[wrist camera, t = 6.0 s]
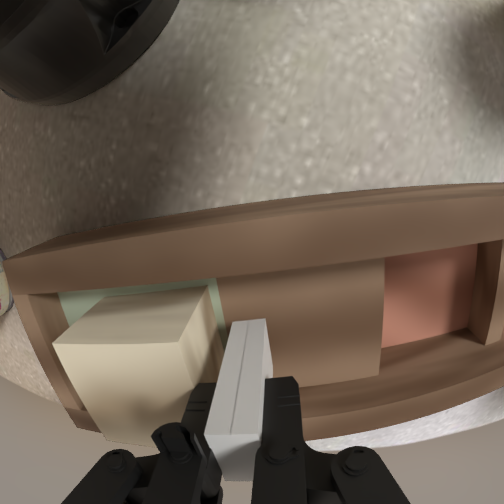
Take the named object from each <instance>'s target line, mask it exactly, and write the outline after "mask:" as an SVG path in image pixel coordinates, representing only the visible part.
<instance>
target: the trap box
mask: <svg viewBox="0 0 504 504" xmlns="http://www.w3.org/2000/svg"><path fill="white" fill-rule="evenodd" d="M2 264H3V268H4V271H5V274H6V278H7V281H8V284H9V287H10V290H11V293H12V296H13V299H14V302H15V305H16V308H17V310H18V313H19V316H20V318H21V321H22V323H23V326H24V328H25V331H26V333H27V335H28V338H29V340H30V342H31V344H32V347H33V349H34V351H35V353H36V355H37V357H38V360H39V362H40V364H41V366H42V368H43V370H44V372H45V374H46V376H47V377H48V379H49V381H50V383H51V385H52V387H53V389H54V390H55V392H56V394H57V396H58V397H59V399H60V401H61V403H62V404H63V406H64V408H65V409H66V411H67V412H68V414H69V416H70V417H71V419H72V420H73V422H74V423H75V425H76V427H77V428H81V429H86V430H91V431H95V432H100V433H102V432H101V431H100V429H99V428H98V426H97V425H96V423H95V422H94V420H93V419H92V417H91V415H90V414H89V412H88V411H87V409H86V407H85V406H84V404H83V402H82V401H81V399H80V397H79V395H78V394H77V392H76V390H75V388H74V386H73V385H72V383H71V381H70V379H69V377H68V375H67V373H66V371H65V369H64V367H63V365H62V363H61V361H60V359H59V357H58V355H57V353H56V351H55V349H54V347H53V345H52V343H53V342H54V341H55V340H56V339H57V338H58V337H59V336H61V335H62V334H63V333H64V332H65V331H66V330H67V329H68V328H69V327H70V326H72V325H73V324H74V323H75V322H76V321H77V320H78V319H79V318H80V317H82V316H83V315H84V314H85V313H86V312H87V311H88V310H90V309H91V308H92V307H93V306H94V305H95V304H96V303H98V302H99V301H100V300H101V299H102V298H103V297H108V296H118V295H127V294H137V293H146V292H155V291H164V290H172V289H181V288H189V287H197V286H206V285H208V289H209V293H210V297H211V301H212V306H213V310H214V314H215V318H216V322H217V326H218V330H219V334H220V338H221V342H222V346H223V349H224V353H225V349H226V346H227V342H228V338H229V334H230V330H231V326H232V322H235V321H245V320H255V319H264V318H265V320H266V326H267V332H268V339H269V345H270V351H271V357H272V364H273V378H277V377H286V376H293V378H294V379H295V380H296V381H297V383H298V384H299V393H300V403H301V414H302V427H303V438H304V441H309V440H317V439H324V438H331V437H338V436H344V435H350V434H355V433H360V432H365V431H370V430H375V429H379V428H384V427H388V426H392V425H396V424H400V423H404V422H407V421H411V420H415V419H418V418H421V417H425V416H428V415H431V414H434V413H437V412H440V411H443V410H446V409H449V408H452V407H455V406H457V405H460V404H463V403H465V402H468V401H470V400H473V399H475V398H478V397H480V396H483V395H485V394H487V393H490V392H492V391H494V390H496V389H499V388H501V387H503V386H504V182H503V183H467V184H445V185H427V186H411V187H397V188H384V189H372V190H361V191H350V192H339V193H330V194H320V195H311V196H302V197H293V198H285V199H277V200H269V201H261V202H254V203H246V204H239V205H232V206H225V207H218V208H212V209H205V210H199V211H192V212H186V213H180V214H174V215H168V216H162V217H156V218H151V219H145V220H139V221H134V222H129V223H123V224H118V225H113V226H108V227H103V228H98V229H93V230H88V231H83V232H78V233H73V234H69V235H64V236H60V237H56V238H53V239H51V240H49V241H46V242H44V243H41V244H39V245H37V246H35V247H32V248H30V249H28V250H25V251H23V252H21V253H19V254H17V255H14V256H12V257H10V258H8V259H6V260H4V261H2Z"/></svg>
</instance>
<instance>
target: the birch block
mask: <svg viewBox="0 0 504 504" xmlns="http://www.w3.org/2000/svg"><path fill="white" fill-rule="evenodd" d="M52 345H53V347H54V349H55V351H56V353H57V355H58V357H59V359H60V361H61V363H62V365H63V367H64V369H65V371H66V373H67V375H68V377H69V379H70V381H71V383H72V385H73V386H74V388H75V390H76V392H77V394H78V395H79V397H80V399H81V401H82V402H83V404H84V406H85V407H86V409H87V411H88V412H89V414H90V415H91V417H92V419H93V420H94V422H95V423H96V425H97V426H98V428H99V429H100V431H101V432H102V434H103V435H104V437H105V438H106V440H108V441H114V442H120V443H126V444H133V445H140V446H149V447H157V446H156V445H155V443H154V441H153V440H152V438H151V435H152V433H153V432H154V431H155V430H156V429H157V428H159V427H160V426H162V425H164V424H167V423H172V422H180V423H181V420H182V417H183V414H184V411H185V408H186V405H187V403H188V400H189V397H190V394H191V391H192V390H193V389H194V388H195V387H196V386H197V385H198V384H199V383H215V382H217V381H218V377H219V373H220V369H221V365H222V361H223V357H224V349H223V346H222V342H221V338H220V334H219V330H218V326H217V322H216V318H215V314H214V310H213V306H212V301H211V297H210V293H209V289H208V285H206V286H197V287H189V288H181V289H172V290H164V291H155V292H146V293H137V294H127V295H118V296H108V297H103V298H102V299H101V300H100V301H99V302H98V303H96V304H95V305H94V306H93V307H92V308H91V309H90V310H88V311H87V312H86V313H85V314H84V315H83V316H82V317H80V318H79V319H78V320H77V321H76V322H75V323H74V324H73V325H72V326H70V327H69V328H68V329H67V330H66V331H65V332H64V333H63V334H62V335H61V336H59V337H58V338H57V339H56V340H55V341H54V342H53V343H52Z"/></svg>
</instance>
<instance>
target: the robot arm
mask: <svg viewBox="0 0 504 504" xmlns="http://www.w3.org/2000/svg"><path fill="white" fill-rule="evenodd" d="M178 2H179V0H0V89H1V90H2V91H3V92H4V93H5V94H7V95H8V96H9V97H11V98H13V99H16V100H18V101H22V102H27V103H34V104H40V105H60V104H64V103H68V102H72V101H75V100H77V99H80V98H82V97H84V96H86V95H88V94H90V93H92V92H94V91H96V90H97V89H99V88H101V87H102V86H104V85H105V84H107V83H108V82H110V81H111V80H112V79H114V78H115V77H116V76H118V75H119V74H120V73H121V72H123V71H124V70H125V69H126V68H127V67H128V66H130V65H131V64H132V63H133V62H134V61H135V60H136V59H137V58H138V57H139V56H140V55H141V54H142V53H143V52H144V51H145V50H146V49H147V48H148V47H149V46H150V44H151V43H152V42H153V41H154V40H155V38H156V37H157V36H158V35H159V33H160V32H161V31H162V29H163V28H164V27H165V25H166V24H167V22H168V21H169V19H170V17H171V16H172V14H173V12H174V10H175V8H176V7H177V4H178ZM151 438H152V440H153V441H154V443H155V445H156V446H157V448H158V450H159V451H160V453H159V454H156V455H151V456H144V457H137V458H135V457H134V456H133V454H132V453H131V452H129V451H128V450H123V449H116V450H112V451H109V452H107V453H106V454H105V455H103V456H102V457H101V459H100V460H99V461H98V462H97V463H96V464H95V465H94V466H93V468H92V469H91V470H90V471H89V472H88V473H87V475H86V476H85V477H84V478H83V479H82V480H81V481H80V483H79V484H78V485H77V486H76V487H75V488H74V489H73V491H72V492H71V493H70V494H69V495H68V496H67V497H66V499H65V500H64V501H63V502H62V503H61V504H222V498H223V490H222V487H221V486H220V482H221V476H222V475H223V477H224V479H225V481H253V488H252V500H251V504H410V502H409V501H408V499H407V497H406V496H405V495H404V493H403V491H402V490H401V488H400V487H399V485H398V484H397V482H396V481H395V479H394V478H393V476H392V475H391V473H390V472H389V470H388V469H387V467H386V465H385V464H384V462H383V461H382V460H381V458H380V456H379V455H378V454H377V453H376V452H375V451H374V450H372V449H370V448H367V447H363V446H354V447H349V448H346V449H344V450H342V451H340V452H339V453H338V454H328V453H322V452H317V451H315V450H313V449H311V448H310V447H309V446H308V445H307V444H306V443H305V441H304V438H303V427H302V414H301V403H300V393H299V384H298V383H297V381H296V380H295V379H294V378H293V376H286V377H277V378H273V364H272V357H271V351H270V345H269V339H268V332H267V326H266V320H265V318H264V319H255V320H245V321H235V322H232V326H231V330H230V334H229V338H228V342H227V346H226V349H225V353H224V357H223V361H222V365H221V369H220V373H219V377H218V381H217V382H215V383H199V384H198V385H197V386H196V387H195V388H194V389H193V390H192V391H191V394H190V397H189V400H188V403H187V405H186V408H185V411H184V414H183V417H182V420H181V423H180V422H172V423H167V424H164V425H162V426H160V427H159V428H157V429H156V430H155V431H154V432H153V433H152V435H151Z"/></svg>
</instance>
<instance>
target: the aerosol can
mask: <svg viewBox="0 0 504 504" xmlns="http://www.w3.org/2000/svg"><path fill="white" fill-rule="evenodd" d="M4 260H6V257H5V255H4V253H3V252H2V251H1V249H0V316H1V315H2V314H4V313H5V312H7V311H8V310H9V309H10V308H11V307H12V306H13V303H14V299H13V296H12V293H11V290H10V287H9V284H8V281H7V278H6V274H5V271H4V268H3V264H2V261H4Z"/></svg>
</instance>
